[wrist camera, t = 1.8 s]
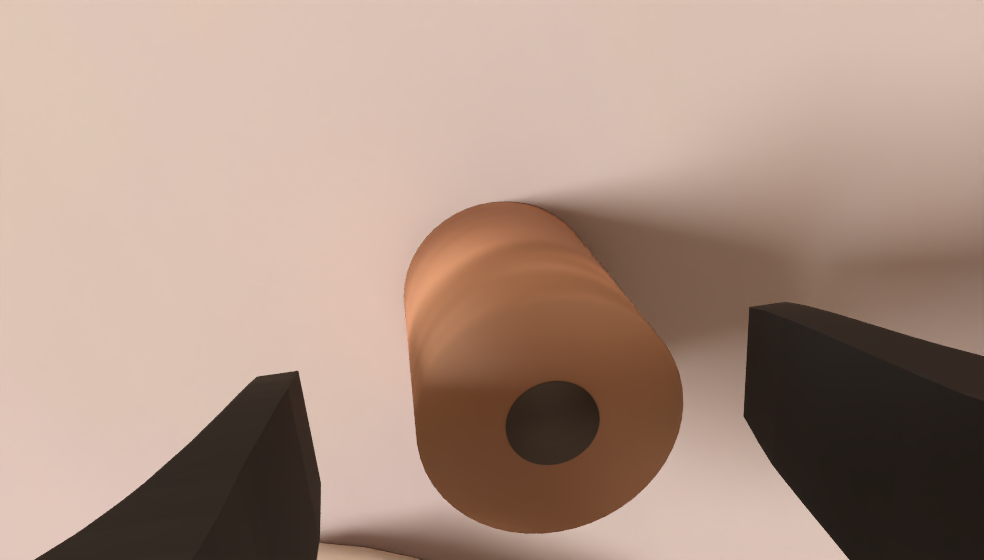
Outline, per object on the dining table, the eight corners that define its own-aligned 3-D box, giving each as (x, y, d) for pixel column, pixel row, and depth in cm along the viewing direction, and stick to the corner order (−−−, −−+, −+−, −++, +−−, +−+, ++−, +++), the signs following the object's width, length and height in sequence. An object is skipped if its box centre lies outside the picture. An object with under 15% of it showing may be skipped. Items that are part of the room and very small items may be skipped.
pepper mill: (590, 190, 15) (686, 281, 10) (596, 365, 17) (682, 513, 12) (391, 214, 15) (399, 319, 10) (416, 391, 16) (432, 555, 12)
